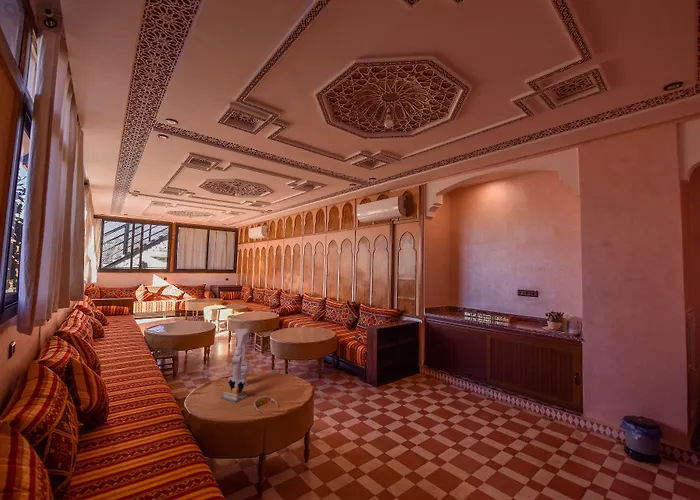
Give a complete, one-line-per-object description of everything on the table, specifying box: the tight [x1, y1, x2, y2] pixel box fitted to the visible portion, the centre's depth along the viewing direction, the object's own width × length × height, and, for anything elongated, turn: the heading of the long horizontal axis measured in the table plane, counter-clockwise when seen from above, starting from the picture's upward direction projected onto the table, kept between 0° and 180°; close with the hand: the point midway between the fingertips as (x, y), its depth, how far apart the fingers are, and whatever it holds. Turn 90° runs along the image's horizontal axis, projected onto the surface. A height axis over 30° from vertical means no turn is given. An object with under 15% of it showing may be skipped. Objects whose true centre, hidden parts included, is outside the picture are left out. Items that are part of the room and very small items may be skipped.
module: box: [231, 386, 242, 396], centre depth 229 cm, size 4×5×5 cm
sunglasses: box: [253, 395, 279, 415], centre depth 212 cm, size 14×15×5 cm
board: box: [220, 391, 248, 404], centre depth 227 cm, size 14×11×4 cm
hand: (236, 391), depth 229 cm, fingers open, 7 cm apart
